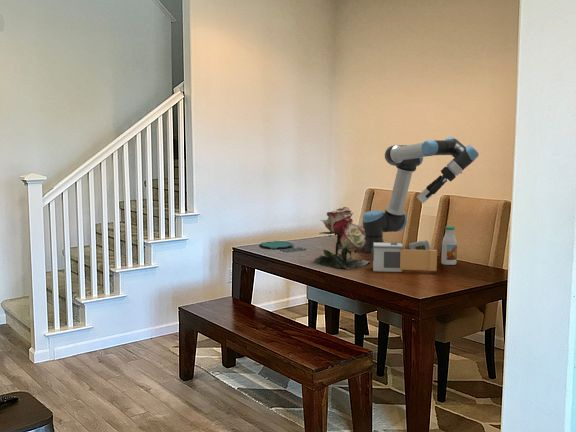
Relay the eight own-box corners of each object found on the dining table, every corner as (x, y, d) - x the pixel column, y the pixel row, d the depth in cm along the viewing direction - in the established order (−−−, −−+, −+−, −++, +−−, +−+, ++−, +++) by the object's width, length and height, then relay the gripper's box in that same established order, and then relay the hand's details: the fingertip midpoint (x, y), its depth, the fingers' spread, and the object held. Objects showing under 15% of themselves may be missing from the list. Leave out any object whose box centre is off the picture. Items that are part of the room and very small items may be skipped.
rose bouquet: (353, 271, 301) (354, 211, 297) (308, 263, 320) (309, 207, 316) (381, 263, 320) (383, 207, 316) (337, 256, 339) (338, 203, 335)
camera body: (400, 268, 308) (401, 241, 306) (402, 272, 297) (402, 244, 296) (371, 267, 310) (371, 240, 308) (371, 271, 299) (372, 244, 297)
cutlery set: (280, 243, 384) (280, 239, 383) (309, 250, 360) (309, 247, 359) (254, 246, 372) (254, 243, 372) (282, 254, 348) (282, 250, 348)
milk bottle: (440, 264, 317) (441, 227, 314) (442, 262, 324) (443, 225, 321) (455, 265, 314) (457, 227, 311) (456, 263, 321) (458, 225, 319)
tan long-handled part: (435, 269, 297) (436, 249, 296) (436, 270, 294) (437, 250, 293) (399, 268, 299) (400, 248, 298) (400, 270, 296) (400, 250, 295)
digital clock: (413, 264, 318) (414, 244, 317) (402, 261, 326) (403, 241, 325) (437, 261, 326) (437, 241, 325) (425, 258, 334) (426, 239, 333)
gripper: (460, 178, 289) (427, 208, 293) (452, 174, 314) (422, 202, 318) (449, 167, 289) (416, 197, 293) (442, 164, 314) (412, 192, 317)
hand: (419, 200), depth 305 cm, fingers open, 13 cm apart
